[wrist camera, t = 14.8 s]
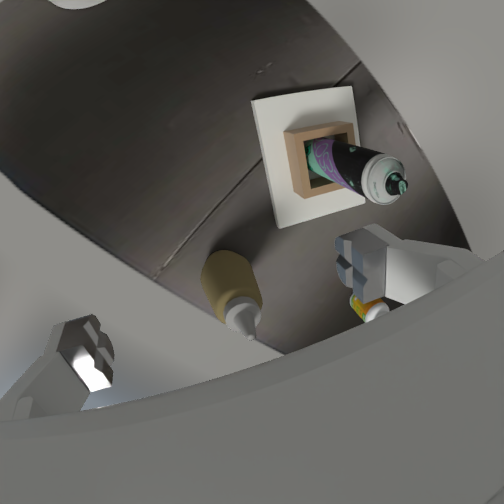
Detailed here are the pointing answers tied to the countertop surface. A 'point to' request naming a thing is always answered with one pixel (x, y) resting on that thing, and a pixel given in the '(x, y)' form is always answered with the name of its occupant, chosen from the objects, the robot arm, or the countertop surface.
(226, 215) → the countertop surface
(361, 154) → the spray can
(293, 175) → the socket board
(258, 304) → the squeeze bottle
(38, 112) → the countertop surface
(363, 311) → the supplement bottle
